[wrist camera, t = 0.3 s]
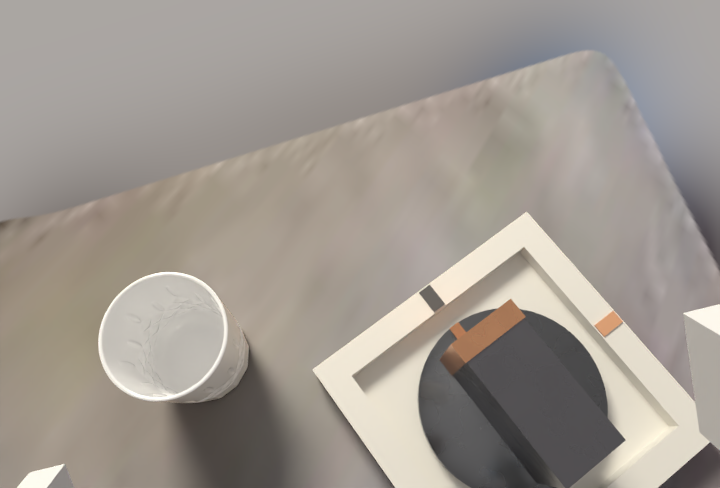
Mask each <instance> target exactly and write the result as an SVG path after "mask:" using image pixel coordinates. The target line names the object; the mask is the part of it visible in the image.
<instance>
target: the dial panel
mask: <svg viewBox="0 0 720 488" xmlns="http://www.w3.org/2000/svg"><path fill="white" fill-rule="evenodd" d="M510 299H512V301H513V302H514V303H515V304H516V305H517V307H518V308H519V309H522V310H527V311H532V312H535V313H538V314H541V315H543V316H545V317H547V318H550V319H552V320H554V321H555V322H557V323H558V324H560V325H562V326H563V327H565V328H566V329H567V330H568V331H569V332H571V333H572V334H573V335H574V336H575V337H576V338H577V339H578V340H579V341H580V342H581V343H582V344H583V345H584V347H585V348H586V349H587V351H588V352H589V353H590V355H591V357H592V358H593V360H594V362H595V363H596V365H597V367H598V370H599V372H600V374H601V377H602V380H603V383H604V387H605V390H606V397H607V405H608V419H609V420H610V422H611V423H612V424H613V425H614V426H615V428H616V429H617V430H618V431H619V432H620V434H621V435H622V436H623V437H624V438H625V440H626V441H624V442H623V443H622V444H621V445H620V446H618V447H617V448H616V449H615V450H614V451H612V452H611V453H610V454H609V455H608V456H607V457H605V458H604V459H603V460H602V461H601V462H599V463H598V464H597V465H596V466H595V467H594V468H592V469H591V470H590V471H589V472H588V473H586V474H585V475H584V476H583V477H582V478H581V479H579V480H578V481H577V482H576V483H575V484H573V485H572V486H571V487H570V488H658V487H659V486H660V485H661V484H663V483H664V482H665V481H666V480H667V479H668V478H669V477H671V476H672V475H673V474H674V473H675V472H676V471H677V470H679V469H680V468H681V467H682V466H683V465H684V464H686V463H687V462H688V461H689V460H690V459H691V458H692V457H694V456H695V455H696V454H697V453H698V452H699V451H700V450H702V449H703V448H704V447H705V446H706V445H707V444H708V443H710V441H709V440H707V439H706V438H705V437H704V436H703V435H702V434H701V433H700V432H699V425H698V418H697V410H696V403H695V402H694V401H693V399H692V398H691V397H690V396H689V395H688V394H687V393H686V392H685V390H684V389H683V388H682V387H681V386H680V385H679V384H678V382H677V381H676V380H675V379H674V378H673V377H672V376H671V375H670V373H669V372H668V371H667V370H666V369H665V368H664V367H663V365H662V364H661V363H660V362H659V361H658V360H657V359H656V358H655V356H654V355H653V354H652V353H651V352H650V351H649V350H648V349H647V347H646V346H645V345H644V344H643V343H642V342H641V341H640V339H639V338H638V337H637V336H636V335H635V334H634V333H633V332H632V330H631V329H630V328H629V327H628V326H627V325H626V324H625V322H624V321H623V320H622V319H621V318H620V317H619V316H618V315H617V313H616V312H615V311H614V310H613V309H612V308H611V307H610V306H609V304H608V303H607V302H606V301H605V300H604V299H603V298H602V296H601V295H600V294H599V293H598V292H597V291H596V290H595V289H594V287H593V286H592V285H591V284H590V283H589V282H588V281H587V279H586V278H585V277H584V276H583V275H582V274H581V273H580V272H579V270H578V269H577V268H576V267H575V266H574V265H573V264H572V262H571V261H570V260H569V259H568V258H567V257H566V256H565V255H564V253H563V252H562V251H561V250H560V249H559V248H558V247H557V246H556V244H555V243H554V242H553V241H552V240H551V239H550V238H549V236H548V235H547V234H546V233H545V232H544V231H543V230H542V229H541V227H540V226H539V225H538V224H537V223H536V222H535V221H534V219H533V218H532V217H531V216H530V215H529V214H528V213H527V212H526V213H524V214H523V215H522V216H520V217H519V218H518V219H516V220H515V221H513V222H512V223H511V224H509V225H508V226H507V227H505V228H504V229H503V230H501V231H500V232H499V233H497V234H496V235H494V236H493V237H492V238H490V239H489V240H488V241H486V242H485V243H484V244H482V245H481V246H480V247H478V248H477V249H475V250H474V251H473V252H471V253H470V254H469V255H467V256H466V257H465V258H463V259H462V260H461V261H459V262H458V263H456V264H455V265H454V266H452V267H451V268H450V269H448V270H447V271H446V272H444V273H443V274H442V275H440V276H439V277H437V278H436V279H435V280H433V281H432V282H431V283H429V284H428V285H427V286H425V287H424V288H423V289H421V290H420V291H418V292H417V293H416V294H414V295H413V296H412V297H410V298H409V299H408V300H406V301H405V302H404V303H402V304H401V305H399V306H398V307H397V308H395V309H394V310H393V311H391V312H390V313H389V314H387V315H386V316H385V317H383V318H382V319H380V320H379V321H378V322H376V323H375V324H374V325H372V326H371V327H370V328H368V329H367V330H366V331H364V332H363V333H361V334H360V335H359V336H357V337H356V338H355V339H353V340H352V341H351V342H349V343H348V344H346V345H345V346H344V347H342V348H341V349H340V350H338V351H337V352H336V353H334V354H333V355H332V356H330V357H329V358H327V359H326V360H325V361H323V362H322V363H321V364H319V365H318V366H317V367H315V368H314V369H313V371H314V373H315V374H316V376H317V377H318V378H319V380H320V381H321V383H322V384H323V385H324V387H325V388H326V390H327V391H328V393H329V394H330V395H331V397H332V398H333V400H334V401H335V403H336V404H337V405H338V407H339V408H340V410H341V411H342V413H343V414H344V415H345V417H346V418H347V420H348V421H349V423H350V424H351V425H352V427H353V428H354V430H355V431H356V432H357V434H358V435H359V437H360V438H361V440H362V441H363V442H364V444H365V445H366V447H367V448H368V450H369V451H370V452H371V454H372V455H373V457H374V458H375V460H376V461H377V462H378V464H379V465H380V467H381V468H382V470H383V471H384V472H385V474H386V475H387V477H388V478H389V480H390V481H391V482H392V484H393V485H394V487H395V488H471V487H469V486H467V485H465V484H464V483H462V482H461V481H460V480H458V479H457V478H455V477H454V476H453V475H452V474H451V473H450V472H449V471H448V470H447V469H446V468H445V467H444V466H443V465H442V464H441V462H440V461H439V460H438V459H437V457H436V456H435V454H434V453H433V451H432V450H431V448H430V446H429V444H428V442H427V440H426V438H425V436H424V433H423V430H422V427H421V423H420V418H419V413H418V402H417V397H418V385H419V380H420V375H421V372H422V369H423V366H424V364H425V362H426V360H427V357H428V355H429V354H430V352H431V350H432V349H433V347H434V346H435V344H436V343H437V341H438V340H439V339H440V338H441V337H442V336H443V335H444V333H445V332H447V331H448V330H449V328H451V327H452V326H453V325H455V324H456V323H457V322H460V321H461V320H463V319H465V318H467V317H469V316H471V315H473V314H476V313H479V312H482V311H485V310H491V309H497V308H499V307H500V306H502V305H503V304H504V303H506V302H507V301H508V300H510Z"/></svg>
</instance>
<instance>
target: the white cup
mask: <svg viewBox="0 0 720 488" xmlns="http://www.w3.org/2000/svg"><path fill="white" fill-rule="evenodd" d="M98 347H99V355H100V359H101V363H102V365H103V368H104V370H105V372H106V374H107V375H108V377H109V378H110V380H111V381H112V382H113V383H114V384H115V385H116V386H117V387H118V388H119V389H120V390H122V391H123V392H125V393H126V394H128V395H130V396H132V397H135V398H138V399H141V400H145V401H154V402H169V403H197V402H198V403H201V402H206V401H210V400H215V399H220V398H222V397H223V396H224V395H226V394H227V393H228V392H230V391H231V390H232V389H234V388H235V387H236V386H238V384H239V382H240V380H241V378H242V377H243V375H244V373H245V371H246V369H247V368H248V356H249V346H248V343H247V341H246V338H245V335H244V333H243V330H242V329H241V327H240V326H239V324H238V322H237V321H236V319H235V318H234V316H233V315H232V313H231V312H230V311H229V309H228V308H227V307H226V306H225V305H224V303H223V302H222V301H221V300H220V298H219V297H218V296H217V295H216V293H215V292H214V291H213V290H212V289H211V288H210V287H209V286H208V285H207V284H205V283H204V282H202V281H201V280H199V279H197V278H195V277H193V276H190V275H187V274H183V273H178V272H162V273H156V274H152V275H148V276H146V277H143V278H141V279H139V280H137V281H135V282H133V283H132V284H130V285H129V286H128V287H126V288H125V289H124V290H123V291H122V292H121V293H120V294H119V295H118V296H117V297H116V298H115V299H114V300H113V302H112V303H111V305H110V306H109V308H108V309H107V311H106V313H105V315H104V318H103V320H102V323H101V327H100V331H99V340H98Z"/></svg>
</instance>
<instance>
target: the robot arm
mask: <svg viewBox="0 0 720 488" xmlns="http://www.w3.org/2000/svg"><path fill="white" fill-rule="evenodd" d="M683 317H684V324H685V331H686V339H687V346H688V353H689V360H690V367H691V374H692V382H693V389H694V396H695V403H696V410H697V418H698V425H699V432H700V433H701V434H702V435H703V436H704V437H705V438H706V439H707V440H709V441H710V442H711V443H712V444H713V445H714V446H715V447H716V448H717V449H719V450H720V304H719V305H715V306H711V307H707V308H703V309H699V310H695V311H690V312H686V313H683ZM17 488H74V486H73V483H72V480H71V478H70V475H69V473H68V470H67V468H66V465H65V464H63V465H59V466H55V467H51V468H46V469H42V470H38V471H34V472H30V473H29V474H28V475H27V476H26V478H25V479H24V480H23V481H22V482H21V483H20V485H19V486H18V487H17Z"/></svg>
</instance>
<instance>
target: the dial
mask: <svg viewBox="0 0 720 488" xmlns="http://www.w3.org/2000/svg"><path fill="white" fill-rule="evenodd" d="M417 402H418V413H419V418H420V423H421V427H422V430H423V433H424V436H425V438H426V440H427V442H428V444H429V446H430V448H431V450H432V451H433V453H434V454H435V456H436V457H437V459H438V460H439V461H440V462H441V464H442V465H443V466H444V467H445V468H446V469H447V470H448V471H449V472H450V473H451V474H452V475H453V476H454V477H455V478H457V479H458V480H460V481H461V482H462V483H464V484H465V485H467V486H469V487H471V488H570V487H571V486H572V485H573V484H575V483H576V482H577V481H578V480H579V479H581V478H582V477H583V476H584V475H585V474H586V473H588V472H589V471H590V470H591V469H592V468H594V467H595V466H596V465H597V464H598V463H599V462H601V461H602V460H603V459H604V458H605V457H607V456H608V455H609V454H610V453H611V452H612V451H614V450H615V449H616V448H617V447H618V446H620V445H621V444H622V443H623V442H624V441H626V440H625V438H624V437H623V436H622V435H621V434H620V432H619V431H618V430H617V429H616V428H615V426H614V425H613V424H612V423H611V422H610V420H609V419H608V405H607V397H606V390H605V387H604V383H603V380H602V377H601V374H600V372H599V370H598V367H597V365H596V363H595V362H594V360H593V358H592V357H591V355H590V353H589V352H588V351H587V349H586V348H585V347H584V345H583V344H582V343H581V342H580V341H579V340H578V339H577V338H576V337H575V336H574V335H573V334H572V333H571V332H569V331H568V330H567V329H566V328H565V327H563V326H562V325H560V324H558V323H557V322H555V321H554V320H552V319H550V318H547V317H545V316H543V315H541V314H538V313H535V312H532V311H527V310H522V309H519V308H518V307H517V305H516V304H515V303H514V302H513V301H512V299H510V300H508V301H507V302H506V303H504V304H503V305H502V306H500V307H499V308H497V309H491V310H485V311H482V312H479V313H476V314H473V315H471V316H469V317H467V318H465V319H463V320H461V321H460V322H457V323H456V324H455V325H453V326H452V327H451V328H449V330H448V331H447V332H445V333H444V335H443V336H442V337H441V338H440V339H439V340H438V341H437V343H436V344H435V346H434V347H433V349H432V350H431V352H430V354H429V355H428V357H427V360H426V362H425V364H424V366H423V369H422V372H421V375H420V380H419V385H418V397H417Z"/></svg>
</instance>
